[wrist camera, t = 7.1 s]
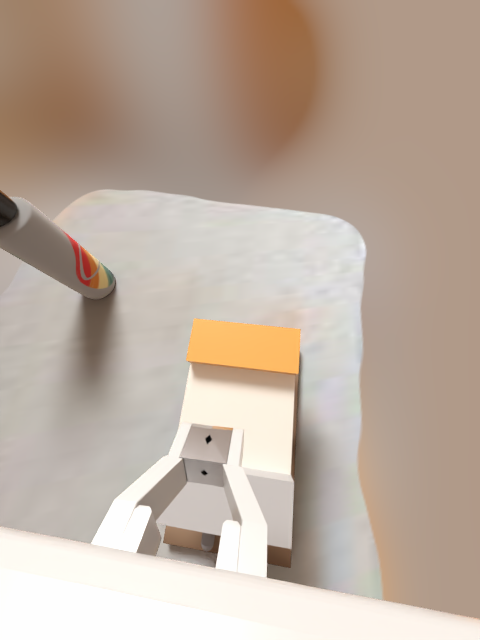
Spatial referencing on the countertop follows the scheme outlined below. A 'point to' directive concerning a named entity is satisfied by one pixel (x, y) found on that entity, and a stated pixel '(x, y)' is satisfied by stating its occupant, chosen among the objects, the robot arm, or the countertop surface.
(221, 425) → the block
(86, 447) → the countertop surface
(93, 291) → the lotion bottle
